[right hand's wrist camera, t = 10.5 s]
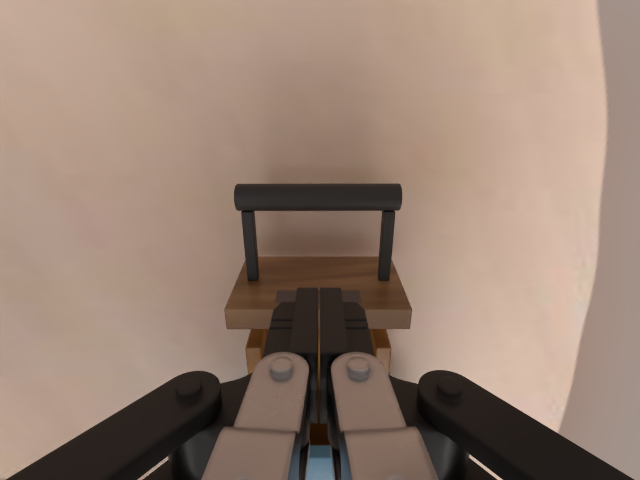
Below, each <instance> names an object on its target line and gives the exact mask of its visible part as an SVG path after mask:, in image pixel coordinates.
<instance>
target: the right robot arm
mask: <svg viewBox="0 0 640 480" xmlns="http://www.w3.org/2000/svg"><path fill="white" fill-rule="evenodd" d="M310 423H318V287H297V292H296V300H295V302H281V303H280V304H279V305H278V306H277V307H276V308H275V309H274V310H273V314H272V318H271V322H270V327H269V331H268V335H267V340H266V344H265V348H264V353H263V357H262V359H261V360H260V361H259V362H258V363H257V364H256V366H255V368H254V371H253V372H252V373H250V374H249V375H247V376H245V377H243V378H240V379H237V380H234V381H229V382H225V383H221V384H220V382H219V380H218V378H217V377H216V376H215V375H213V374H211V373H209V372H205V371H193V372H187V373H184V374H181V375H179V376H177V377H175V378H173V379H171V380H170V381H168V382H166V383H165V384H163V385H161V386H160V387H158V388H157V389H155V390H153V391H152V392H150V393H148V394H147V395H145V396H143V397H142V398H140V399H138V400H137V401H135V402H133V403H132V404H130V405H128V406H127V407H125V408H123V409H122V410H120V411H119V412H117V413H115V414H114V415H112V416H110V417H109V418H107V419H105V420H104V421H102V422H100V423H99V424H97V425H95V426H94V427H92V428H90V429H89V430H87V431H85V432H84V433H82V434H81V435H79V436H77V437H76V438H74V439H72V440H71V441H69V442H67V443H66V444H64V445H62V446H61V447H59V448H57V449H56V450H54V451H52V452H51V453H49V454H47V455H46V456H44V457H43V458H41V459H39V460H38V461H36V462H34V463H33V464H31V465H29V466H28V467H26V468H24V469H23V470H21V471H19V472H18V473H16V474H14V475H13V476H11V477H9V478H8V479H6V480H137V479H138V478H140V477H141V476H142V475H144V474H145V473H146V472H148V471H149V470H150V469H151V468H153V467H154V466H155V465H157V464H158V463H159V462H161V461H162V460H163V459H164V458H166V457H167V456H168V458H169V460H167V461H166V462H165V463H164V464H162V465H161V466H160V467H158V468H157V469H156V470H155V471H153V472H152V473H151V474H149V475H148V476H147V477H146V478H144V479H143V480H307V473H308V464H309V455H310ZM320 424H327V427H328V440H329V443H330V455H331V464H332V473H333V480H497V479H496V478H494V477H493V476H492V475H491V474H489V473H488V472H487V471H485V470H484V469H483V468H482V467H480V466H479V465H478V464H476V463H475V462H474V461H473V460H471V459H470V458H469V454H470V455H472V456H473V457H474V458H476V459H477V460H478V461H479V462H481V463H482V464H483V465H485V466H486V467H487V468H489V469H490V470H491V471H492V472H494V473H495V474H496V475H498V476H499V477H500V478H502V479H503V480H634V479H632V478H631V477H629V476H627V475H626V474H624V473H622V472H621V471H619V470H617V469H616V468H614V467H612V466H611V465H609V464H607V463H606V462H604V461H602V460H601V459H599V458H597V457H596V456H594V455H592V454H591V453H589V452H588V451H586V450H584V449H583V448H581V447H579V446H578V445H576V444H574V443H573V442H571V441H569V440H568V439H566V438H564V437H563V436H561V435H559V434H558V433H556V432H555V431H553V430H551V429H550V428H548V427H546V426H545V425H543V424H541V423H540V422H538V421H536V420H535V419H533V418H531V417H530V416H528V415H526V414H525V413H523V412H521V411H520V410H518V409H517V408H515V407H513V406H512V405H510V404H508V403H507V402H505V401H503V400H502V399H500V398H498V397H497V396H495V395H493V394H492V393H490V392H488V391H487V390H485V389H483V388H482V387H480V386H478V385H477V384H475V383H474V382H472V381H470V380H469V379H467V378H465V377H463V376H462V375H459V374H457V373H454V372H450V371H445V370H435V371H430V372H428V373H426V374H424V375H423V376H422V377H421V378H420V380H419V384H416V383H411V382H407V381H403V380H400V379H397V378H394V377H392V376H390V375H388V374H387V371H386V368H385V366H384V364H383V363H382V362H381V361H380V360H379V359H378V358H376V357H375V354H374V350H373V345H372V341H371V336H370V332H369V327H368V322H367V318H366V313H365V310H364V309H363V308H362V307H361V306H360V305H359V304H358V303H357V302H343V300H342V291H341V287H320Z"/></svg>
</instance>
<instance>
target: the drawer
mask: <svg viewBox="0 0 640 480" xmlns="http://www.w3.org/2000/svg"><path fill="white" fill-rule="evenodd" d="M234 202H235V207H236V209H237V210H238V211H242V212H241V214H242V225H243V236H244V247H245V258H246V260H245V263H244V265H243V267H242V270H241V272H240V274H239V277H238V279H237V281H236V284H235V286H234V288H233V291H232V293H231V295H230V298H229V300H228V302H227V305H226V307H225V318H226V326H227V329H251V331H250V335H249V338H248V342H247V345H246V357H247V367H248V375H249V374H250V373H252V372H253V371H254V368H255V366H256V364H257V363H258V362H259V361H260V360H261V359H262V357H263V353H264V348H265V344H266V340H267V335H268V331H269V327H270V322H271V318H272V314H273V310H274V309H275V308H276V307H277V306H278V305H279V304H280V303H281V302H295V300H296V292H297V287H318V423H310V445H330V443H329V440H328V427H327V424H320V287H341V291H342V300H343V302H357V303H358V304H359V305H360V306H361V307H362V308H363V309H364V310H365V313H366V318H367V322H368V327H369V332H370V336H371V341H372V345H373V350H374V354H375V357H376V358H378V359H379V360H380V361H381V362H382V363H383V364H384V366H385V368H386V371H387V374H388V375H389V366H390V356H391V346H390V342H389V338H388V334H387V331H386V329H410V322H411V314H412V308H411V306H410V303H409V301H408V298H407V296H406V294H405V291H404V289H403V286H402V284H401V281H400V279H399V276H398V274H397V271H396V269H395V266H394V264H393V262H392V259H391V257H392V245H393V233H394V221H395V211H398V210H400V208H401V204H402V188H401V185H400V184H236V186H235V190H234ZM254 211H382V220H381V234H380V249H379V257H258V251H257V238H256V225H255V212H254Z"/></svg>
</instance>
